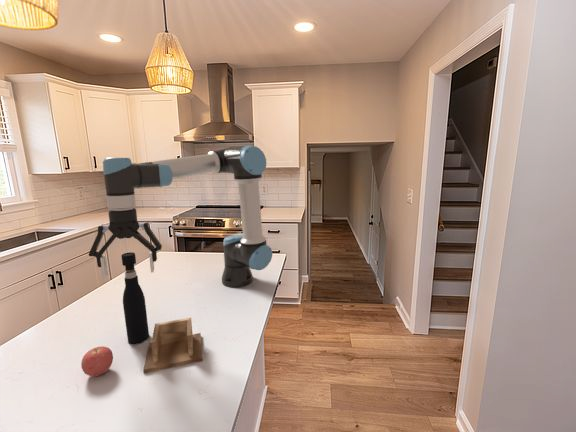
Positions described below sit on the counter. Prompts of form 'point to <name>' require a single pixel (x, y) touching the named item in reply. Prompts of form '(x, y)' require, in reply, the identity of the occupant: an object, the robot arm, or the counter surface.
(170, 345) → the u rest
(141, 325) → the wine bottle
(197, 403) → the counter surface
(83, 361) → the apple
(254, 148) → the robot arm
